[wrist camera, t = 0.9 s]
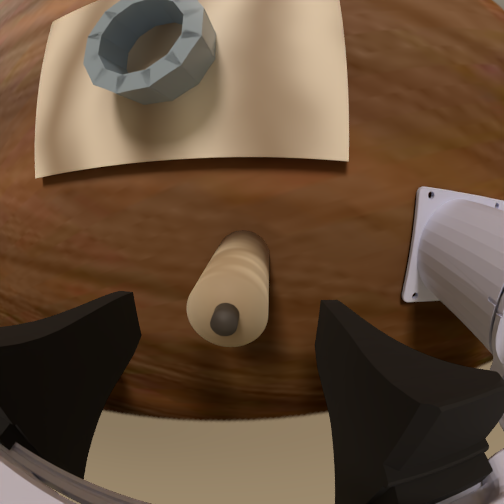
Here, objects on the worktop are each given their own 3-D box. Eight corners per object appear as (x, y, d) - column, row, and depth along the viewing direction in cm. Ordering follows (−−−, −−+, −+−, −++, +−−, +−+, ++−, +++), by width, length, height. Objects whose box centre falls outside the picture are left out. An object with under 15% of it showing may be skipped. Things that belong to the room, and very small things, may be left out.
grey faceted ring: (218, 5, 12) (207, -24, 9) (214, 97, 14) (199, 80, 11) (120, 24, 12) (94, 5, 9) (110, 111, 14) (78, 104, 11)
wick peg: (269, 230, 17) (269, 286, 9) (268, 280, 18) (266, 360, 10) (217, 230, 17) (176, 283, 10) (218, 278, 18) (186, 355, 10)
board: (332, -21, 11) (334, -26, 10) (345, 161, 15) (348, 161, 15) (57, 24, 12) (52, 22, 12) (41, 177, 17) (35, 178, 16)
